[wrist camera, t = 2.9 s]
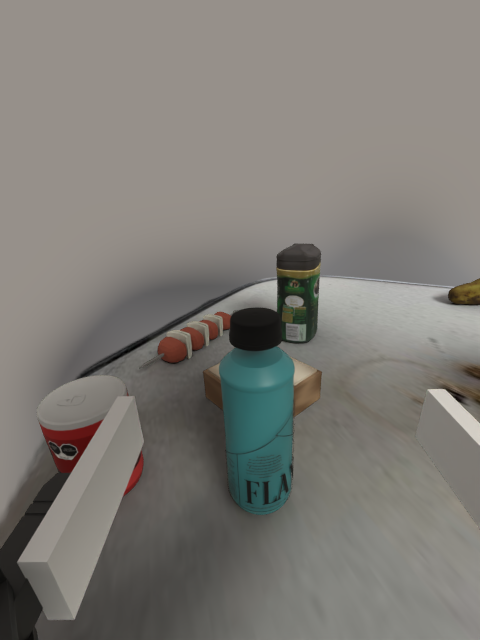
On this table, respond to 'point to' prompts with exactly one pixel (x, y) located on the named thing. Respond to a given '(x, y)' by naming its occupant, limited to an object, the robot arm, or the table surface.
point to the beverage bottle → (258, 411)
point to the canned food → (80, 419)
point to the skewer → (191, 338)
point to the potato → (466, 293)
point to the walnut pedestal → (304, 386)
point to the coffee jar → (298, 291)
